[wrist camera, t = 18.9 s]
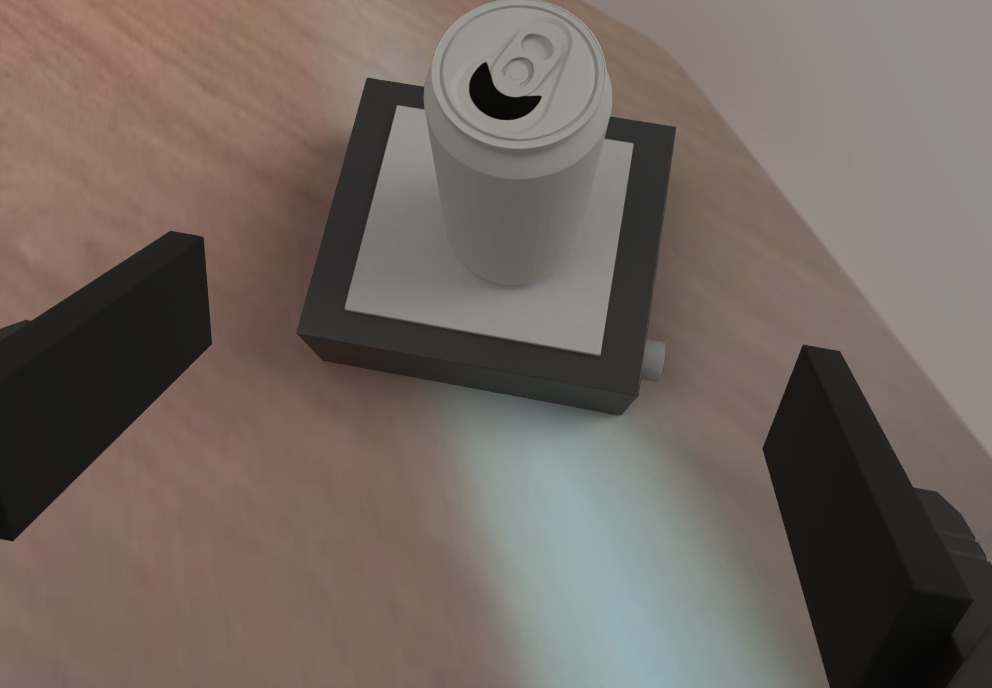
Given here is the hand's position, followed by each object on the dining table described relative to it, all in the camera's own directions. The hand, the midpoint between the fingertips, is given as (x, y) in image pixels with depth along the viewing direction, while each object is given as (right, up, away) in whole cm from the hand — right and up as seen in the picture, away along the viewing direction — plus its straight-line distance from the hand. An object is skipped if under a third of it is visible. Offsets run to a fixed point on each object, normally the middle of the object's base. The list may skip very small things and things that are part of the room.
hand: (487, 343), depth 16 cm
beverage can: (+1, +6, +19) cm, 20 cm away
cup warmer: (0, +4, +24) cm, 24 cm away
